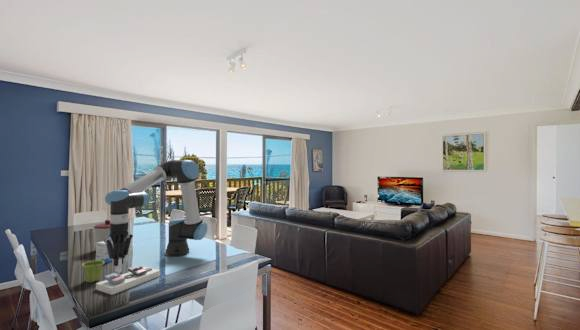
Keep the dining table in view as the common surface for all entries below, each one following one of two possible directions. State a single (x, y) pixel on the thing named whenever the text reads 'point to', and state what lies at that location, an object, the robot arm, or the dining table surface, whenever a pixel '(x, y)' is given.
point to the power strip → (127, 281)
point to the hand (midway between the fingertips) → (118, 271)
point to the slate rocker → (114, 278)
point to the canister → (101, 231)
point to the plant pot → (92, 270)
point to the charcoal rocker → (137, 270)
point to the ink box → (102, 252)
